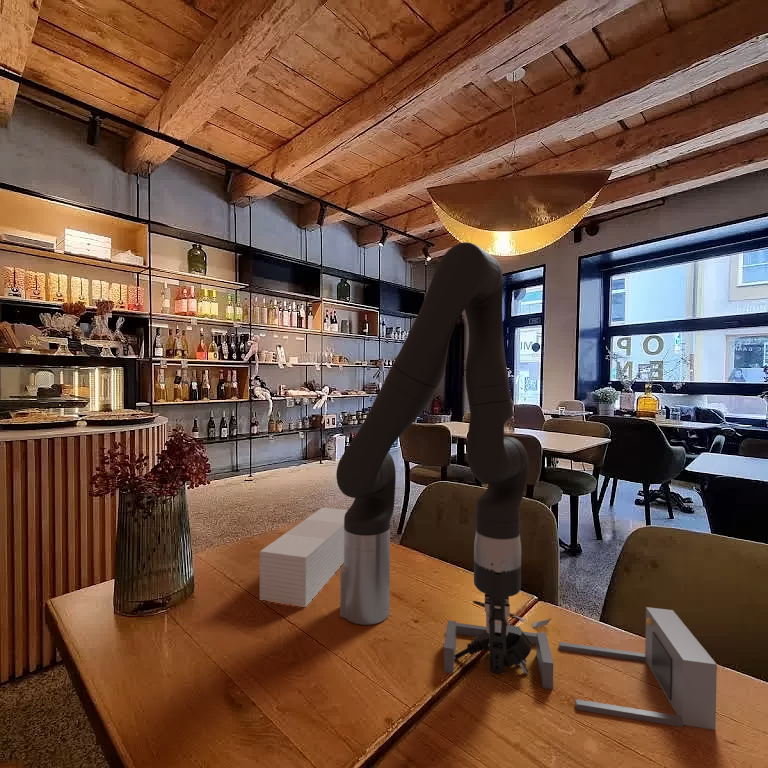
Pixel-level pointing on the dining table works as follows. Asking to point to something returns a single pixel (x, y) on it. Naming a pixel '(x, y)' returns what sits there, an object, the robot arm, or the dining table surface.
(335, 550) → the stack of papers
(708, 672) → the socket block
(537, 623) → the fork
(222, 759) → the dining table surface
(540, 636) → the plug holster
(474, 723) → the dining table surface
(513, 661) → the power plug
